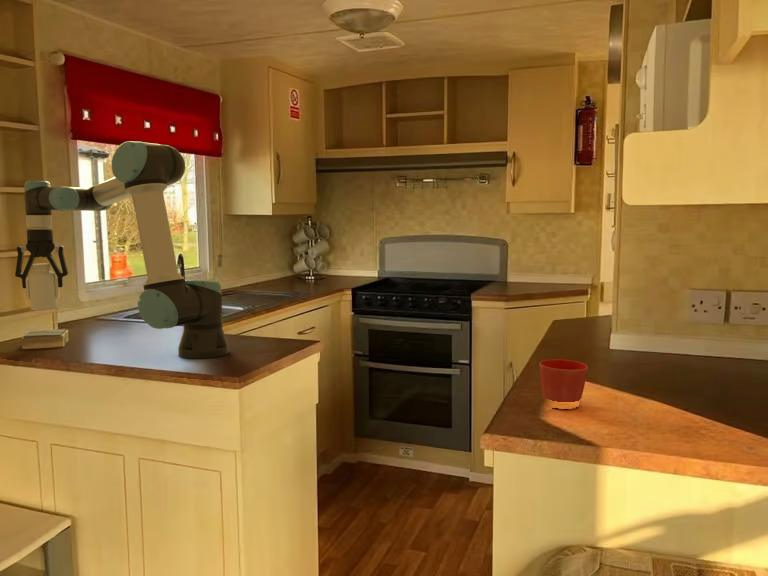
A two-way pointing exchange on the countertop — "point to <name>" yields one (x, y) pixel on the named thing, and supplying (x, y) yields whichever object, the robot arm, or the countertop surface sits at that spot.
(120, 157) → the robot arm
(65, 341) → the stand
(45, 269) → the pill bottle
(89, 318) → the countertop surface
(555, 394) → the flower pot
